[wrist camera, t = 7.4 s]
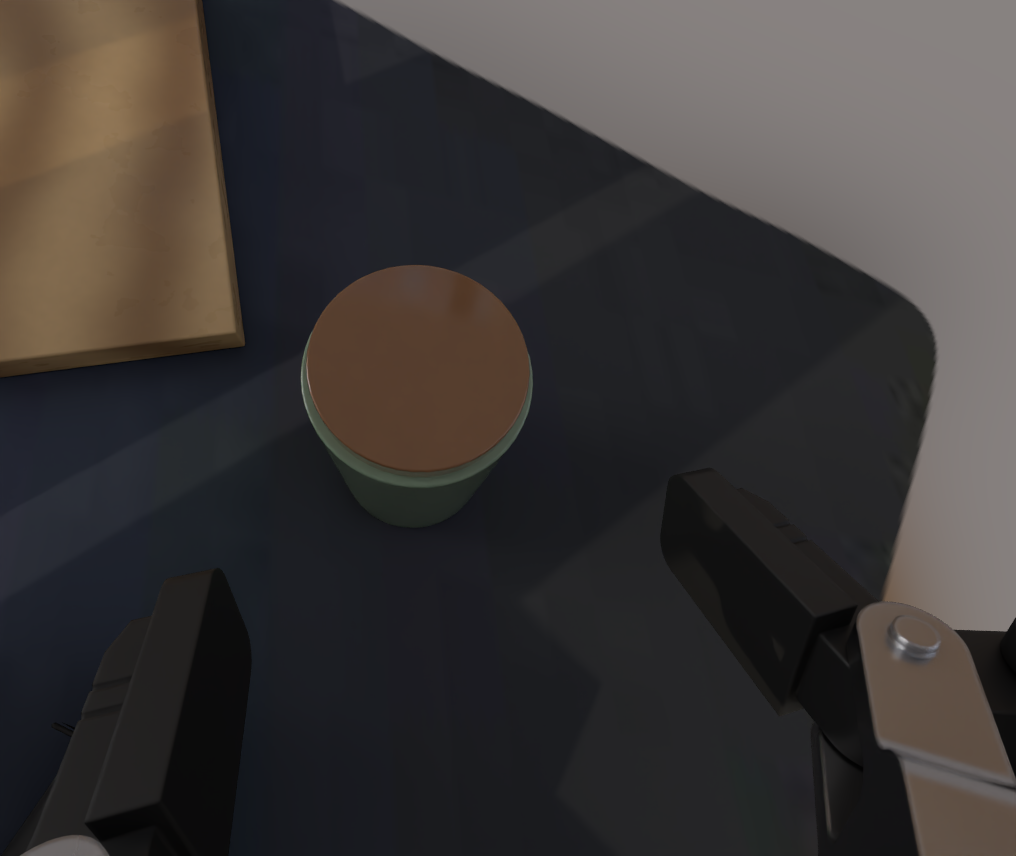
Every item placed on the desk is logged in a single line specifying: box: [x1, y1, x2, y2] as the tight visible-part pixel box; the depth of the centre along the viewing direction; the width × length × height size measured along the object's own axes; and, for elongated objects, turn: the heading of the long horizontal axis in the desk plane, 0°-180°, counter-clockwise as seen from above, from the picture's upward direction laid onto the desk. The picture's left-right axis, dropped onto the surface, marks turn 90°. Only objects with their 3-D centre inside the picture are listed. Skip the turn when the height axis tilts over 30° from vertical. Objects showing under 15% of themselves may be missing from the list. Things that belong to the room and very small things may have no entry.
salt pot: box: [301, 265, 533, 528], centre depth 15 cm, size 5×5×9 cm
